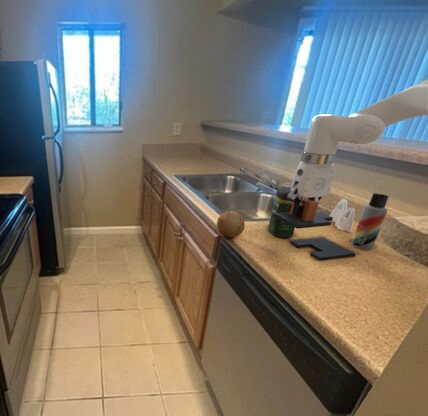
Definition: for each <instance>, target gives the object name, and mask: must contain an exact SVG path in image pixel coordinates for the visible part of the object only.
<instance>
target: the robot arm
mask: <svg viewBox="0 0 428 416" xmlns="http://www.w3.org/2000/svg"><path fill="white" fill-rule="evenodd" d="M423 116H428V78H426V79H425V80H422V81H421V82H418V83H416V84H413V85H411V86H408V87H407V88H405V89H403V90H401V91H398V92H396V93H393V94H392V95H390V96H387V97H385V98H383V99H381V100H378V101H377V102H374V103H372V104H369V105H368V106H366V107H364V108H362V109H360V110H358V111H355V112H354V113H352V114H350V115H348V116H347V115H346V116H344V115H341V114H317V115H314V116H313V117H312V119H311V121H310V124H309V128H308V133H307V136H306V140H305V144H304V149H303V152H302V155H301V156H300V162H299V163H298V166H297V167H296V170H295V173H294V175H293V178H292V181H291V184H290V187H291V189H290V193H289V194H288V196H287V197H288V198H290V199H291V200H292V201H293V203H294V207H293V210H292V215H293V216H295V217H297V218H301V217H302V214H303V210H304V206H303V204H304V202H305V199H306V198H307V199H310V200H313V201H316V202H318V203H319V201H320V200H322V199H323V198H325V197H326V196H328V195H329V193H330V191H331V188H332V183H333V179H334V172H335V164H334V160H335V157H336V154H337V150H338V147H339V144H340V142H342V143H348V144H354V145H366V144H367V145H368V144H371V143H374V142H375V141H377V140H378V139H380V138H381V137H382V136H383V134H384V133H385V130H386V128H387V127H390V126H392V125H394V124H398V123H400V122H403V121H406V120H410V119H412V118H417V117H423ZM299 197H300V198H301V199H299Z"/></svg>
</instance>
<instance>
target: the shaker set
mask: <svg viewBox="0 0 428 416" xmlns="http://www.w3.org/2000/svg"><path fill="white" fill-rule="evenodd" d="M348 204H349V203H348V199H344V198H343V199H341V200H340V201H339V202H338V203H337V204H336V206H335V207H334V208H333V210H332V211H331V213H329V214H328V215H329V216H331V217H333V219H332V222H334V226H335V227H336V229H338V230H339V231H342V232H347V233H353V226H354V220H355V213H356V209H355V208H353V207H348Z"/></svg>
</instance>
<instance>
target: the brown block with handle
mask: <svg viewBox="0 0 428 416" xmlns="http://www.w3.org/2000/svg"><path fill="white" fill-rule="evenodd" d="M299 199H301V198H300V197H299ZM303 206H304V210H303V214H302V217H301V218H297V217H295V216H293V215H292V210H293V207H294V203H292V207H291V210H290V212H279V213H273V215H272V216H273V217H275V218H277V219H279V220H281V221H283V222H285V223H287V224H289V225H291V226H293V227H295V229H297V230H299V229H308V228H309V229H311V228H319V227H329V226H331V225H332V222H333V220H332V219H333V217H331V216H329V215H330V214H326V213H323V212H317V210H318V206H319V201H318V202H316V201H313V200H310V199H307V198H306V199H305V202H304V204H303Z"/></svg>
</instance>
